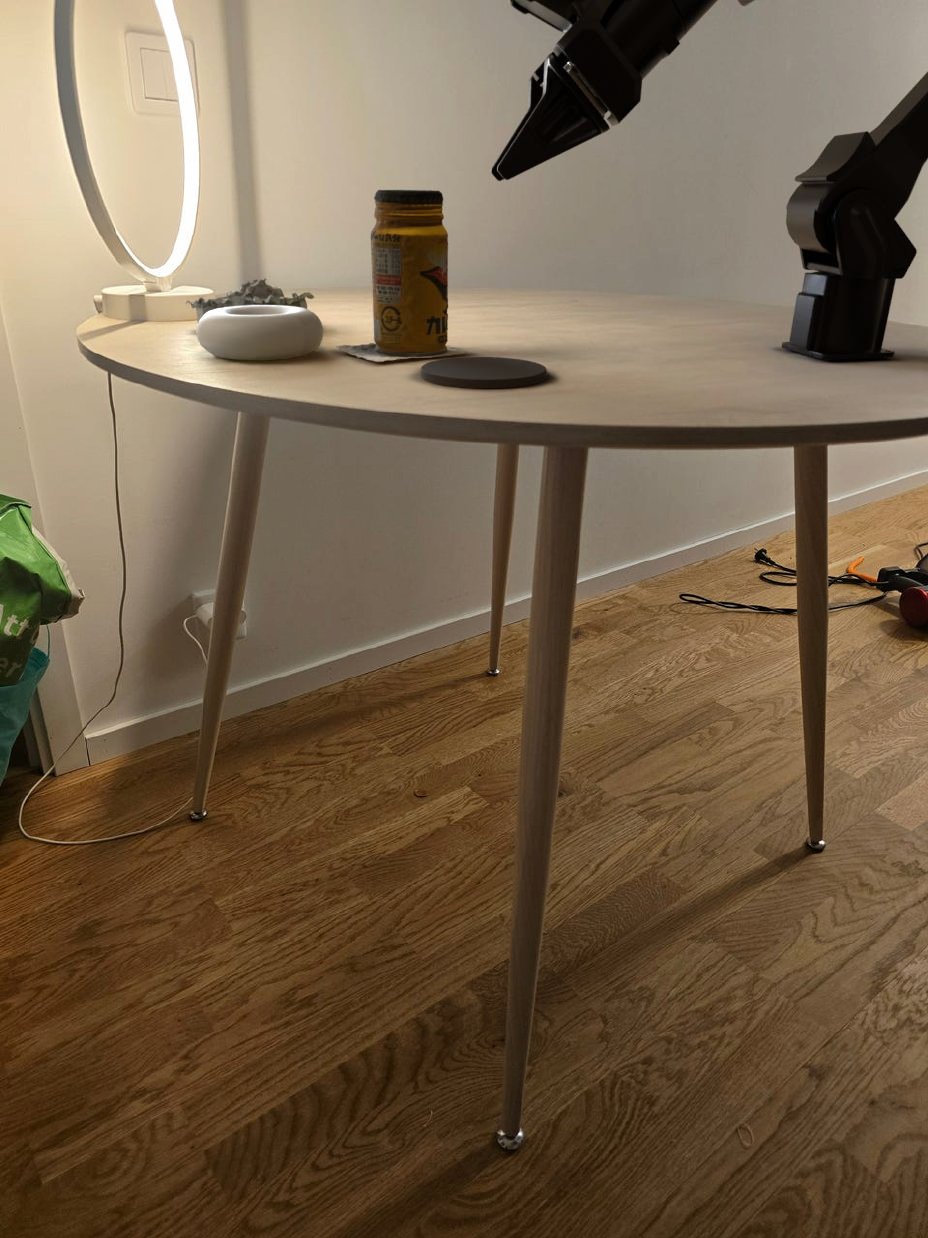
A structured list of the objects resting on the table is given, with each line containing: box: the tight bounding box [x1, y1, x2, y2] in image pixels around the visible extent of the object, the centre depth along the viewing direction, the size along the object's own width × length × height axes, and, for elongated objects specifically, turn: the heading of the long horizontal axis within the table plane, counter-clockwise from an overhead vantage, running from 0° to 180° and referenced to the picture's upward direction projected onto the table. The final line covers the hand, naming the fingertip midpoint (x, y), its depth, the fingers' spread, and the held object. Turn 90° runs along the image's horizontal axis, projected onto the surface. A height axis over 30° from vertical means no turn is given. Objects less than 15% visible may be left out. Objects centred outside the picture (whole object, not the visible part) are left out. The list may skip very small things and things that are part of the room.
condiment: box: [334, 189, 468, 363], centre depth 70 cm, size 7×8×12 cm
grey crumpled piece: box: [185, 277, 315, 325], centre depth 83 cm, size 11×8×4 cm
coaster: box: [420, 356, 547, 389], centre depth 63 cm, size 9×9×1 cm
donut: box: [195, 305, 324, 361], centre depth 71 cm, size 10×4×10 cm
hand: (497, 175), depth 67 cm, fingers open, 9 cm apart
